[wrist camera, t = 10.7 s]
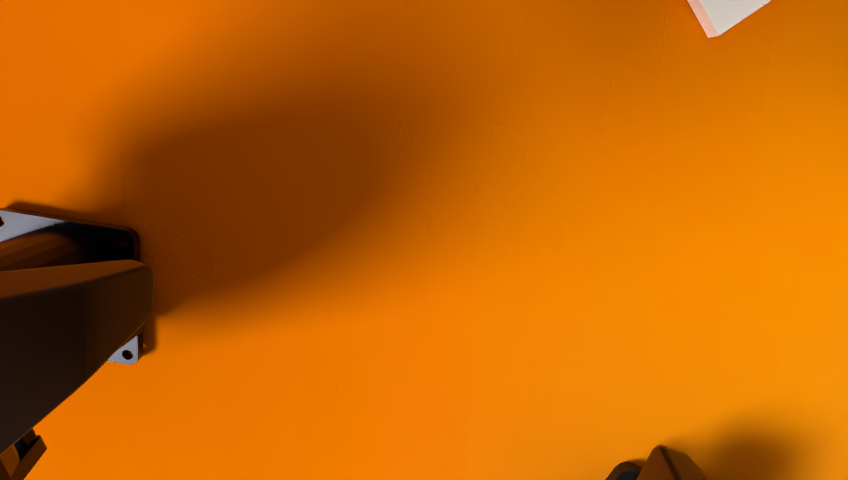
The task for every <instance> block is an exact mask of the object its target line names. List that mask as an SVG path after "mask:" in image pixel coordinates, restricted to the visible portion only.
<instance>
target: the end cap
mask: <svg viewBox="0 0 848 480" xmlns="http://www.w3.org/2000/svg"><path fill="white" fill-rule="evenodd" d="M642 469H643V468H641V467H639V466H637V465H635V464H633V463H628V462H625V463H620V464H619V465H617V466H616V467H615V468H614V469H613V471H612V472H611V473H610V474H609V476H608V477H607V478H606V480H637V478H638V476H639V474H640V472H641V470H642Z"/></svg>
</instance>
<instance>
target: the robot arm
mask: <svg viewBox="0 0 848 480" xmlns="http://www.w3.org/2000/svg"><path fill="white" fill-rule="evenodd" d="M1 217H2V218H3V220H4V222H3V221H2V219H1ZM123 236H125V237H126V238H127V239H128V243H126V242H125V241H124V240H123ZM153 298H154V271H153V269H152V268H151V267H150V266H149V265H146V264H143V263H140V240H139V236H138V234H137V232H136V231H134V230H133V229H132V228H129V227H123V226H117V225H111V224H104V223H98V222H92V221H86V220H79V219H73V218H67V217H60V216H54V215H48V214H42V213H35V212H29V211H23V210H16V209H10V208H0V480H24V478H25V477H26V476H27V474H28V473H29V472H30V470H31V469H32V468H33V466H34V465H35V464H36V462H37V461H38V460H39V459H40V457H41V456H42V455H43V453H44V452H45V451H46V449H47V447H46V445H45V443H44V441H43V440H42V438H41V436H40V435H36V434H35V432H34V430H33V427H34V426H35V425H37V424H38V423H39V422H40V421H41V420H42V419H44V418H45V417H46V416H47V415H48V414H49V413H51V412H52V411H53V410H54V409H55V408H56V407H58V406H59V405H60V404H61V403H62V402H63V401H65V400H66V399H67V398H68V397H69V396H70V395H72V394H73V393H74V392H75V391H76V390H77V389H78V388H80V387H81V386H82V385H83V384H84V383H85V382H86V381H87V380H88V379H89V378H90V377H91V376H92V375H93V374H94V373H95V372H96V371H97V370H98V369H99V368H100V367H101V366H102V365H103V364H104V363H105V362H106V361H111V362H117V363H123V364H134V363H136V362H137V361H138V360H139V359H140V358H141V357H142V356H143V330H144V322H145V321H146V320H147V319H148V317H149V316H150V314H151V312H152V308H153ZM128 350H129V351H131V353H132V354H133V355H131V354H130V353H129V352H128ZM637 480H710V479H709V478H708V477H707V476H706V474H705V473H704V472H703V471H702V470H701V469H700V468H699V467H698V466H697V465H696V464H695V463H694V462H693V461H692V460H691V459H690V457H689V456H688V455H687V454H685V453H683V452H681V451H678V450H675V449H672V448H669V447H667V446H664V445H658V446H656V447H655V448H654V449H653V450H652V452H651V454H650V456H649V457H648V459H647V461H646V463H645V465H644V467H643V469H642V470H641V472H640V474H639V476H638V478H637Z"/></svg>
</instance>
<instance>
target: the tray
mask: <svg viewBox="0 0 848 480" xmlns="http://www.w3.org/2000/svg"><path fill="white" fill-rule="evenodd" d="M687 1H688V3H689V4H690V6H691V8H692V10H693V11H694V13H695V15H696V17H697V19H698V20H699V22H700V24H701V26H702V28H703V29H704V31H705V33H706V35H707V36H708V38H710V37H715V36H719V35H721V34H722V33H724V32H725V31H727V30H728V29H730V28H731V27H733V26H734V25H735V24H737V23H738V22H740V21H741V20H743V19H744V18H746V17H747V16H749V15H750V14H752V13H753V12H755V11H756V10H758V9H759V8H760V7H762V6H763V5H765V4H766V3H768V2H769V1H771V0H687Z"/></svg>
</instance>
